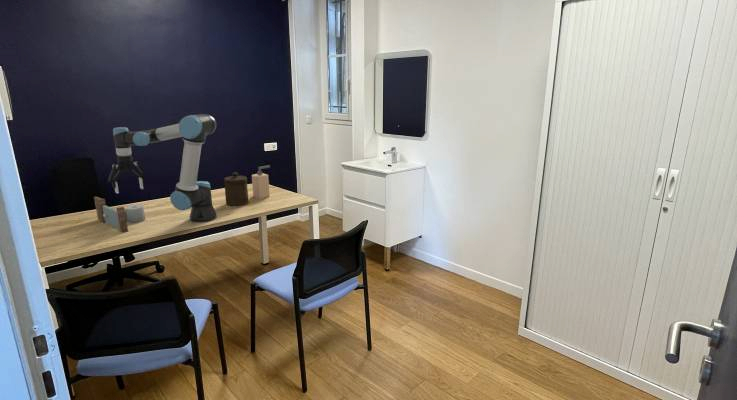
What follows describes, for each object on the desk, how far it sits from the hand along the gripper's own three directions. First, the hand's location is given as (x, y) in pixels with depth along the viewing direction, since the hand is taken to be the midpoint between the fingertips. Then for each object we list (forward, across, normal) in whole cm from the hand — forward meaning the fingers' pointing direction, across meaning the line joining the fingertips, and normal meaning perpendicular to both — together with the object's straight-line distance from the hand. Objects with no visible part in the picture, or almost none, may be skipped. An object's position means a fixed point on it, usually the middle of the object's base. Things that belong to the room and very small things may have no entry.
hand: (129, 190), depth 236 cm
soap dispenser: (+18, -84, +15) cm, 87 cm away
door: (+18, +13, +3) cm, 22 cm away
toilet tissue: (+19, 0, 0) cm, 19 cm away
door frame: (+18, +12, -1) cm, 22 cm away
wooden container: (+18, -60, +17) cm, 65 cm away
